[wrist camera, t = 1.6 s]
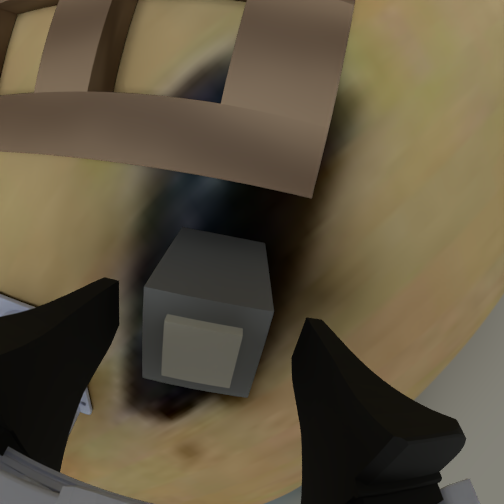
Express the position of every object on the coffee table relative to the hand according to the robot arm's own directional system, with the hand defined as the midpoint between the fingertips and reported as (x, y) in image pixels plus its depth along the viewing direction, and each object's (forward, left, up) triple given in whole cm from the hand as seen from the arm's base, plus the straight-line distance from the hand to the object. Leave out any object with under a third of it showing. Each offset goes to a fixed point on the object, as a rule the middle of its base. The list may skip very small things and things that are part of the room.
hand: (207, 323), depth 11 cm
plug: (0, 0, -5) cm, 5 cm away
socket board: (+10, +8, -4) cm, 14 cm away
